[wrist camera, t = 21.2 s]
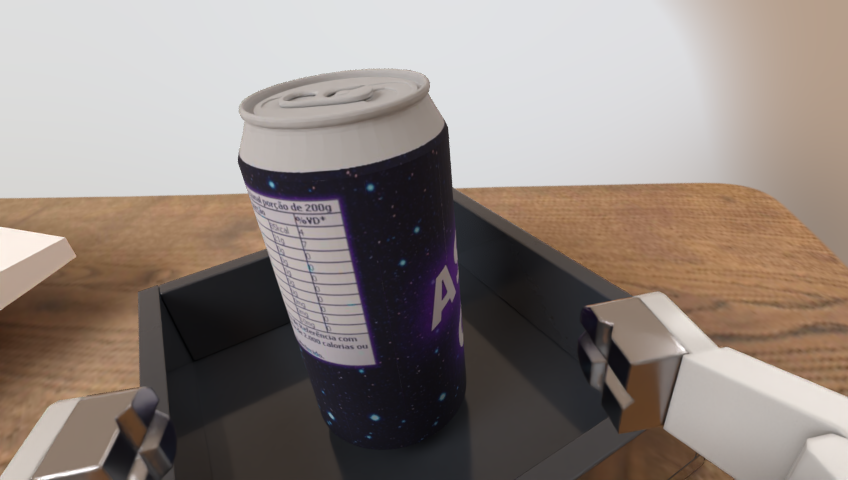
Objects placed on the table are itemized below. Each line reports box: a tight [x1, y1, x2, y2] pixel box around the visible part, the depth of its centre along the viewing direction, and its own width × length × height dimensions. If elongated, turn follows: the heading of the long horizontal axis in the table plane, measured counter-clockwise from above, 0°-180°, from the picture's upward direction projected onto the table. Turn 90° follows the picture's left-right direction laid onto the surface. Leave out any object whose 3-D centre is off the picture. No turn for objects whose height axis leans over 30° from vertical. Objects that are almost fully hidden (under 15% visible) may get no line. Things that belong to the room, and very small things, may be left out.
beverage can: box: [238, 69, 466, 450], centre depth 15 cm, size 6×6×12 cm
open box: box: [138, 187, 705, 480], centre depth 17 cm, size 16×16×5 cm
